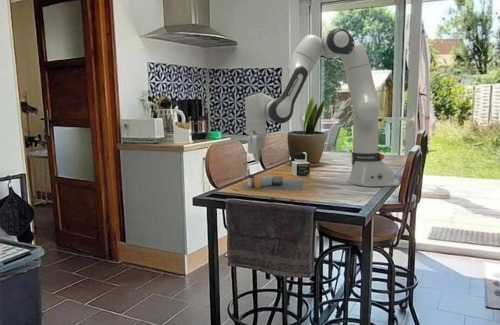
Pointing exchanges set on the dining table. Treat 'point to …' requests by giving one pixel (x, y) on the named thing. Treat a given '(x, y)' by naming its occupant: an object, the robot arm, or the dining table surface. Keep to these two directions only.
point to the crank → (266, 180)
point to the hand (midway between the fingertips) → (257, 160)
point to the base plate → (285, 186)
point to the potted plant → (308, 136)
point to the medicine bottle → (300, 165)
